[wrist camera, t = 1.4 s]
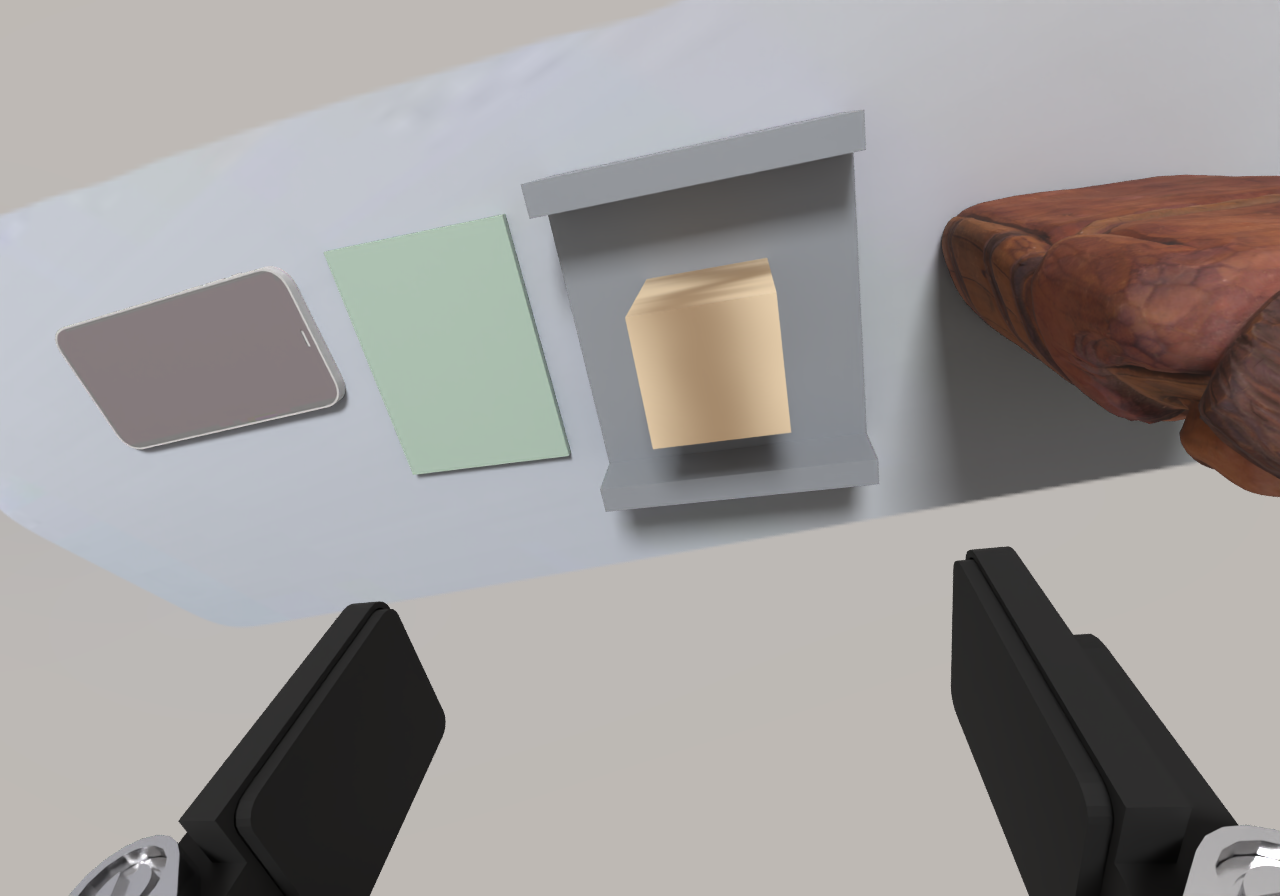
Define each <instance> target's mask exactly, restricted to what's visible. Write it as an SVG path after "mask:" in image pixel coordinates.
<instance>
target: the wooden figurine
mask: <svg viewBox="0 0 1280 896" xmlns="http://www.w3.org/2000/svg"><path fill="white" fill-rule="evenodd" d="M942 250H943V254H944V258H945V262H946V264H947V267H948V269H949V272H950V275H951V277H952V280H953V282H954V284H955V287H956V289H957V290H958V292H959V294H960V295H961V297H962V298H963V299H964V301H965V302H966V303H967V305H969V306H970V307H971V309H972V310H973V311H974V312H975V313H976V314H977V315H978V316H979V317H980V318H981V319H982V320H983V321H984V322H985V323H987V324H988V325H989V326H990V327H992V328H993V329H995V330H996V331H997V332H999V333H1000V334H1001V335H1003V336H1004V337H1006V338H1007V339H1009V340H1010V341H1012V342H1014V343H1015V344H1017V345H1018V346H1020V347H1021V348H1023V349H1024V350H1026V351H1027V352H1029V353H1030V354H1032V355H1033V356H1034V357H1036V358H1037V359H1039V360H1040V361H1042V362H1043V363H1044V364H1045V365H1047V366H1048V367H1049V368H1051V369H1052V370H1053V371H1055V372H1056V373H1057V374H1059V375H1060V376H1061V377H1063V378H1064V379H1065V380H1067V381H1068V382H1070V383H1071V384H1073V385H1075V386H1076V387H1078V388H1079V389H1080V390H1081V391H1082V392H1083V393H1084V394H1085V395H1087V396H1088V397H1089V398H1091V399H1092V400H1093V401H1095V402H1096V403H1097V404H1099V405H1100V406H1101V407H1103V408H1104V409H1105V410H1107V411H1109V412H1110V413H1112V414H1114V415H1116V416H1118V417H1123V418H1126V419H1128V420H1130V421H1134V420H1139V421H1142V422H1145V423H1148V424H1152V423H1156V422H1159V421H1178V420H1183V419H1185V421H1184V424H1183V427H1182V429H1181V431H1180V440H1181V444H1182V445H1183V447H1184V448H1185V450H1186V452H1187V453H1188V454H1189V455H1190V456H1191V457H1192V458H1193V459H1194V460H1196V461H1197V462H1199V463H1200V464H1202V465H1204V466H1206V467H1209V468H1211V469H1215V470H1216V471H1218V472H1219V473H1220V474H1222V475H1223V476H1224V477H1225V478H1227V479H1228V480H1229V481H1231V482H1232V483H1234V484H1236V485H1238V486H1239V487H1241V488H1243V489H1244V490H1247V491H1250V492H1252V493H1256V494H1260V495H1266V496H1273V497H1280V176H1241V177H1229V176H1207V175H1175V176H1158V177H1151V178H1145V179H1138V180H1131V181H1124V182H1118V183H1111V184H1105V185H1098V186H1090V187H1084V188H1077V189H1069V190H1057V191H1048V192H1039V193H1033V194H1026V195H1018V196H1012V197H1007V198H1003V199H998V200H993V201H988V202H983V203H980V204H977V205H974V206H972V207H969V208H967V209H965V210H964V211H962V212H961V213H960V214H959V215H958V216H957V217H953V218H952V219H951V220H950V221H949V222H948V223H947V225H946V226H945V229H944V232H943V236H942Z"/></svg>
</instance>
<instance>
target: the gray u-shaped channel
mask: <svg viewBox="0 0 1280 896" xmlns="http://www.w3.org/2000/svg"><path fill="white" fill-rule="evenodd" d="M862 150H866V142H865V117H864V110H859V111H851V112H843V113H838V114H833V115H829V116H824V117H820V118H815V119H811V120H806V121H801V122H797V123H792V124H788V125H783V126H779V127H774V128H769V129H765V130H760V131H756V132H751V133H746V134H742V135H737V136H733V137H728V138H724V139H719V140H714V141H710V142H705V143H701V144H696V145H692V146H687V147H682V148H678V149H673V150H669V151H664V152H659V153H655V154H650V155H646V156H641V157H637V158H632V159H627V160H623V161H618V162H614V163H609V164H605V165H600V166H595V167H591V168H586V169H582V170H577V171H572V172H568V173H563V174H559V175H554V176H550V177H546V178H543V179H539V180H536V181H532V182H528V183H525V184H521V188H522V191H523V195H524V199H525V203H526V207H527V211H528V214H529V218H530V219H531V218H536V217H541V216H546V215H548V217H549V221H550V225H551V229H552V233H553V237H554V241H555V245H556V249H557V253H558V257H559V261H560V265H561V269H562V273H563V277H564V281H565V285H566V289H567V293H568V297H569V301H570V305H571V309H572V314H573V318H574V322H575V326H576V330H577V334H578V338H579V342H580V346H581V350H582V354H583V358H584V362H585V366H586V370H587V374H588V378H589V382H590V386H591V390H592V394H593V398H594V402H595V406H596V410H597V414H598V418H599V422H600V426H601V430H602V435H603V439H604V443H605V447H606V451H607V455H608V459H609V463H610V464H609V466H608V469H607V472H606V475H605V478H604V480H603V483H602V486H601V489H600V491H601V495H602V498H603V502H604V506H605V510H606V512H609V511H619V510H628V509H638V508H648V507H658V506H668V505H678V504H687V503H697V502H707V501H717V500H727V499H737V498H747V497H756V496H766V495H776V494H786V493H796V492H806V491H816V490H825V489H835V488H845V487H855V486H865V485H875V484H879V469H878V458H877V455H876V453H875V451H874V449H873V446H872V444H871V442H870V440H869V437H868V435H867V430H866V409H865V388H864V367H863V346H862V325H861V304H860V283H859V262H858V241H857V220H856V199H855V178H854V157H853V152H857V151H862ZM763 258H767V259H768V263H769V266H770V270H771V274H772V278H773V281H774V285H775V289H776V292H777V302H778V311H779V321H780V330H781V340H782V350H783V359H784V369H785V378H786V388H787V397H788V407H789V416H790V426H791V433H783V434H775V435H767V436H758V437H750V438H742V439H734V440H725V441H717V442H709V443H700V444H692V445H684V446H676V447H667V448H659V449H653V447H652V442H651V437H650V433H649V428H648V423H647V419H646V414H645V409H644V404H643V400H642V395H641V390H640V386H639V381H638V376H637V371H636V367H635V362H634V357H633V353H632V348H631V343H630V338H629V334H628V329H627V324H626V320H625V317H626V315H627V313H628V312H629V310H630V308H631V306H632V304H633V303H634V301H635V299H636V297H637V295H638V294H639V292H640V290H641V288H642V286H643V285H644V283H645V281H646V279H650V278H656V277H661V276H667V275H673V274H678V273H684V272H690V271H695V270H701V269H707V268H712V267H718V266H724V265H729V264H735V263H740V262H746V261H752V260H757V259H763Z"/></svg>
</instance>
